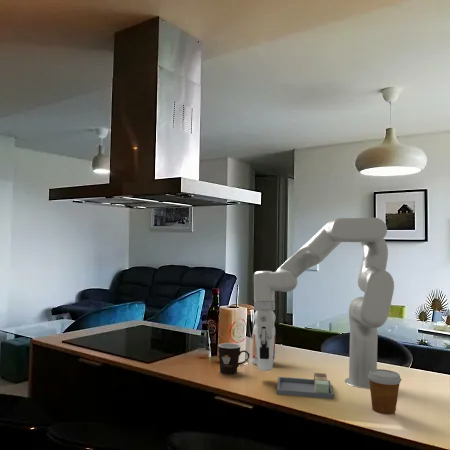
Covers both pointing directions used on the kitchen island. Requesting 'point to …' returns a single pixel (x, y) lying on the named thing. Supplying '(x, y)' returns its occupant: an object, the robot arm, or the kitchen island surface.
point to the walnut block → (318, 376)
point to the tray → (301, 388)
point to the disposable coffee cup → (384, 390)
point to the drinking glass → (268, 363)
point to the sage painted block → (322, 386)
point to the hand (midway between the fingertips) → (265, 355)
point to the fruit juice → (254, 351)
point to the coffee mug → (229, 357)
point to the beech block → (320, 378)
